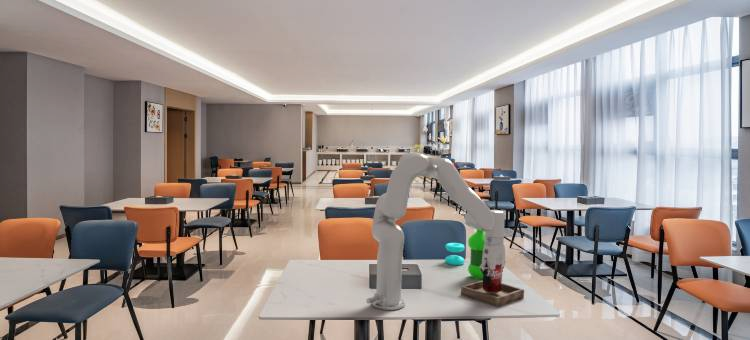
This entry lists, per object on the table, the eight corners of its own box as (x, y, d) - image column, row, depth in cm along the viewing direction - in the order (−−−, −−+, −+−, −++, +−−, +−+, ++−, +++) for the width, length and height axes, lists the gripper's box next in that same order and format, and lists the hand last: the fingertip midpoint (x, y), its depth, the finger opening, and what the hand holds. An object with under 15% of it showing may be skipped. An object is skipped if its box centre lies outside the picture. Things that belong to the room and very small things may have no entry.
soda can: (501, 294, 184) (502, 265, 183) (483, 292, 185) (484, 263, 184) (500, 289, 191) (501, 260, 190) (482, 287, 192) (483, 259, 192)
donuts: (446, 241, 245) (465, 243, 243) (445, 260, 246) (464, 261, 243) (444, 245, 235) (464, 247, 233) (444, 264, 236) (463, 266, 234)
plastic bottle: (492, 276, 216) (494, 224, 215) (484, 282, 207) (486, 227, 206) (472, 273, 222) (474, 222, 220) (464, 278, 213) (465, 225, 211)
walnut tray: (497, 307, 176) (497, 298, 175) (460, 294, 189) (461, 286, 189) (523, 298, 187) (524, 289, 187) (487, 286, 201) (487, 278, 201)
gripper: (488, 244, 178) (486, 289, 179) (514, 239, 189) (512, 281, 190) (473, 241, 184) (471, 284, 185) (498, 236, 195) (497, 277, 196)
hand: (492, 282), depth 188 cm, fingers closed on soda can, 7 cm apart
